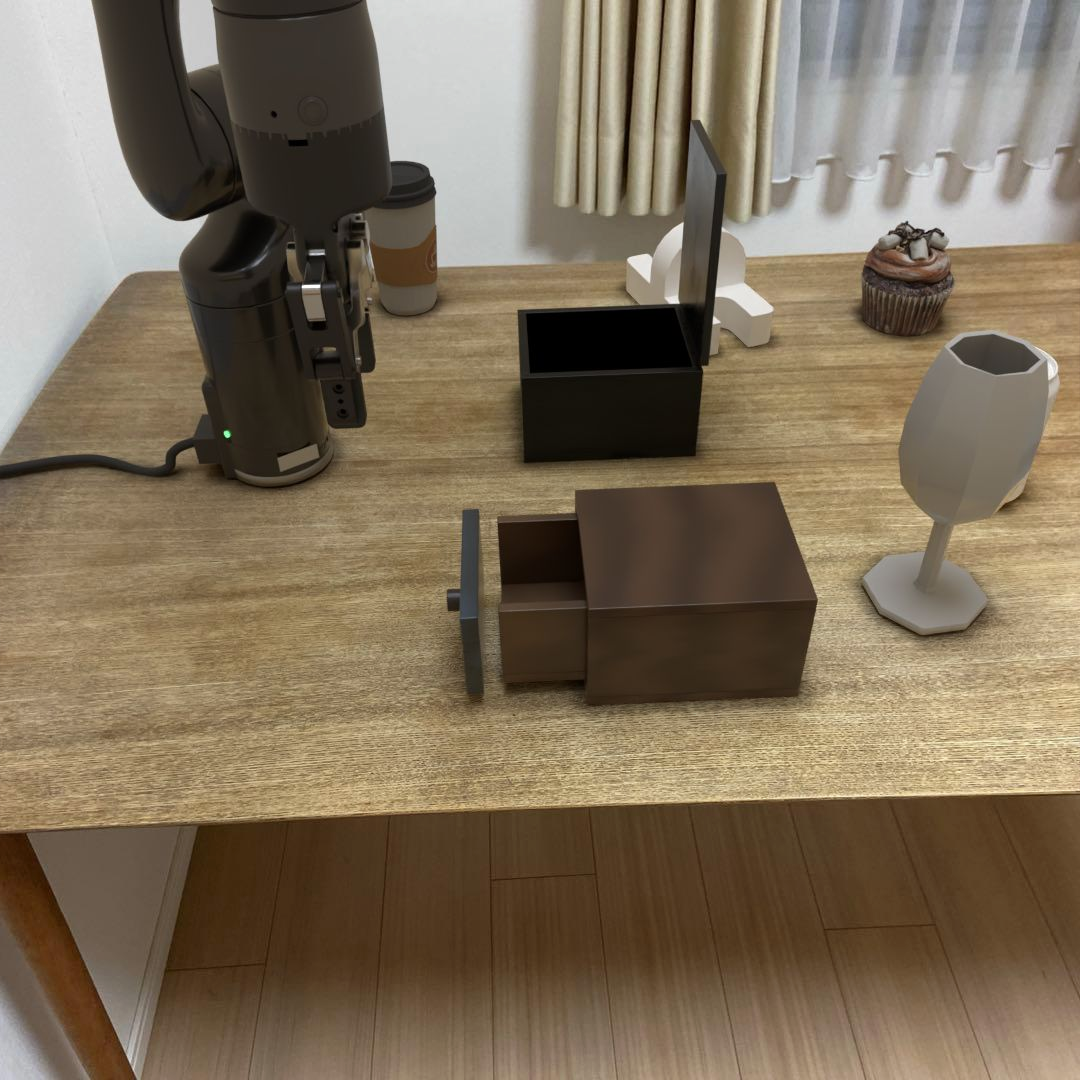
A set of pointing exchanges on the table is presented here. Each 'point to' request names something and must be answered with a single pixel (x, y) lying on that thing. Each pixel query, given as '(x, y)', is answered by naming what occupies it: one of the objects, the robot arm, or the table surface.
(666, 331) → the metal box
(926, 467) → the wineglass
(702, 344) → the lid
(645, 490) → the drawer cabinet
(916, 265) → the cupcake
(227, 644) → the table surface
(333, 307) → the robot arm
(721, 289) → the white slotted bracket
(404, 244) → the coffee cup
